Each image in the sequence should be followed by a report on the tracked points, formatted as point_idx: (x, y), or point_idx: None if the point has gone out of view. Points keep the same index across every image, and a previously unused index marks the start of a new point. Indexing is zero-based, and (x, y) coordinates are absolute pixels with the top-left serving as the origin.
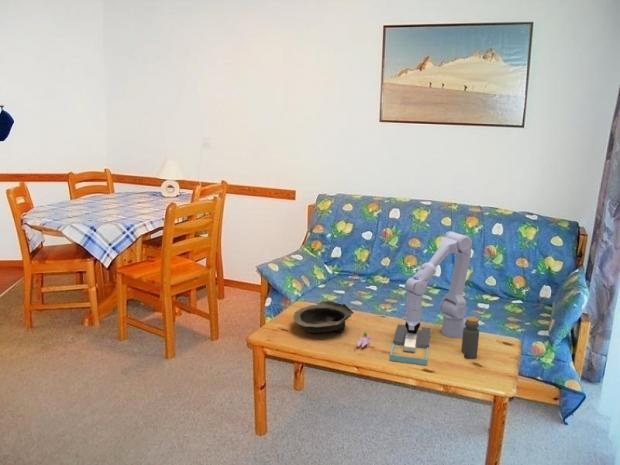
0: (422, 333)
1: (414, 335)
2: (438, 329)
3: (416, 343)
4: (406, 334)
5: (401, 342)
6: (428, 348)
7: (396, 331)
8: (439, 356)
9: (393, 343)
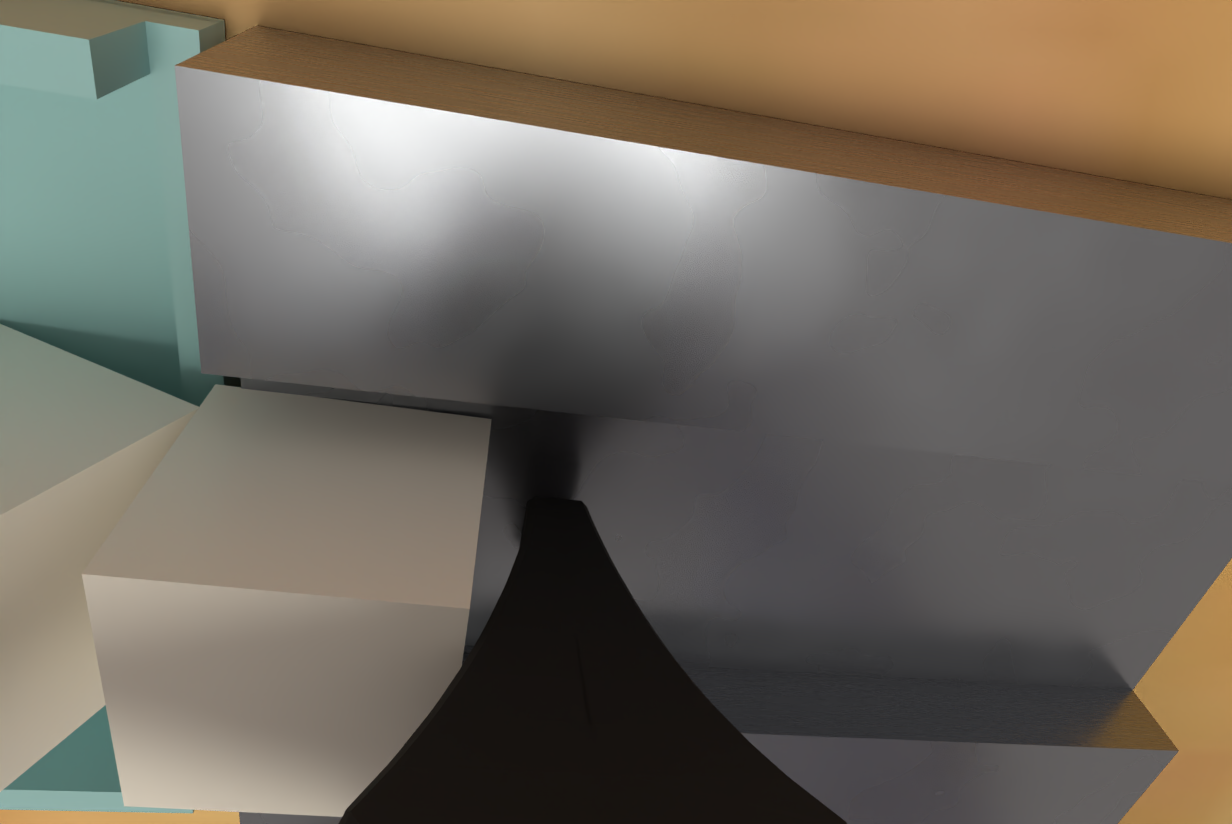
0: (849, 757)
1: (315, 775)
2: (1196, 813)
3: (477, 605)
4: (319, 600)
5: (207, 332)
6: (140, 811)
7: (1037, 227)
8: (188, 817)
9: (59, 55)
